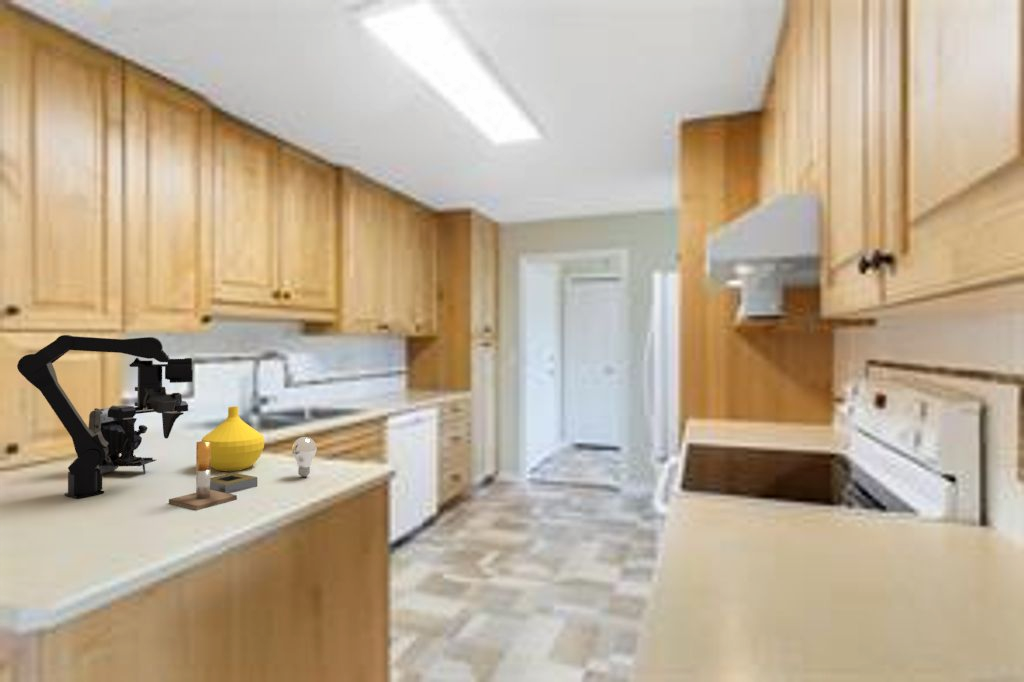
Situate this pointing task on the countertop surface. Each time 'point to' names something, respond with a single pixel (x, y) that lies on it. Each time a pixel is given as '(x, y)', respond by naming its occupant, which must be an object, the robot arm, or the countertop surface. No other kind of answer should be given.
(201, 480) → the orange and silver cylinder
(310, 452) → the light bulb
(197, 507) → the walnut pad
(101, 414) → the vintage camera
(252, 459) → the vase
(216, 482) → the chuck block
